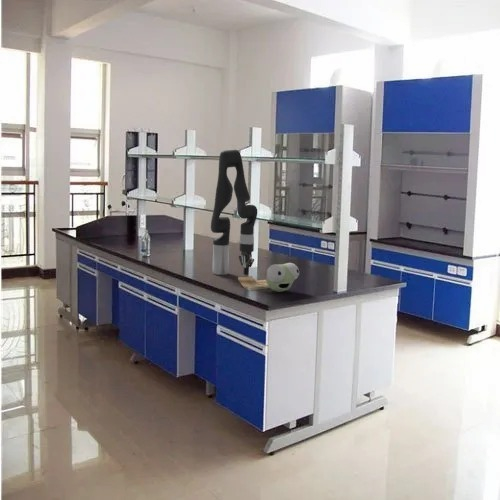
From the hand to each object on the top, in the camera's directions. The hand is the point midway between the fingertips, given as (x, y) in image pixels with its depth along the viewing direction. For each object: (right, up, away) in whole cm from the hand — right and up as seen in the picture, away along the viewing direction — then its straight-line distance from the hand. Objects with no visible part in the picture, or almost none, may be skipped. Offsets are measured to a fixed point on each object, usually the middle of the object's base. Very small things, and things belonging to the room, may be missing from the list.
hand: (245, 274), depth 319 cm
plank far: (+9, -5, +4) cm, 11 cm away
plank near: (+1, -4, -1) cm, 5 cm away
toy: (+17, -9, -12) cm, 23 cm away
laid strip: (+9, -7, -4) cm, 12 cm away
